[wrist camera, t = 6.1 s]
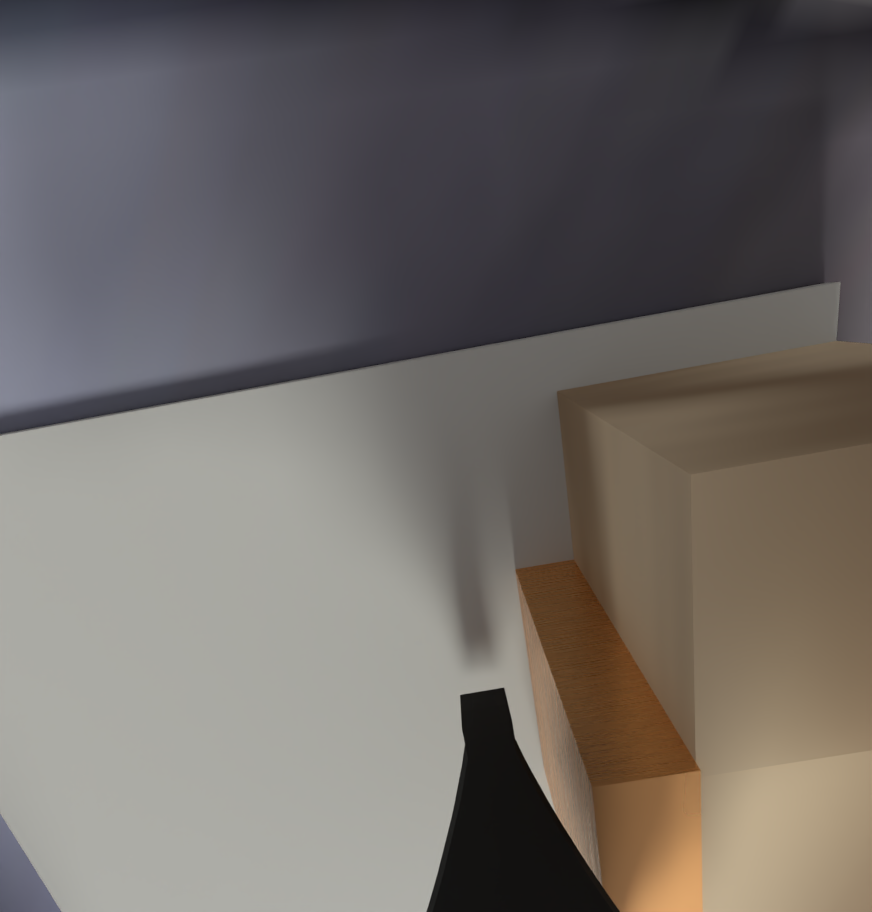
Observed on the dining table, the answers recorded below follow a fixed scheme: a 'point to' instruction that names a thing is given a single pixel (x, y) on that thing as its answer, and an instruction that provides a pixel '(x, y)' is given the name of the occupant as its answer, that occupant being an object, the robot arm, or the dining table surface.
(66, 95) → the dining table surface
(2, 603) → the mat
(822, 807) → the block
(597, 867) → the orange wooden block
